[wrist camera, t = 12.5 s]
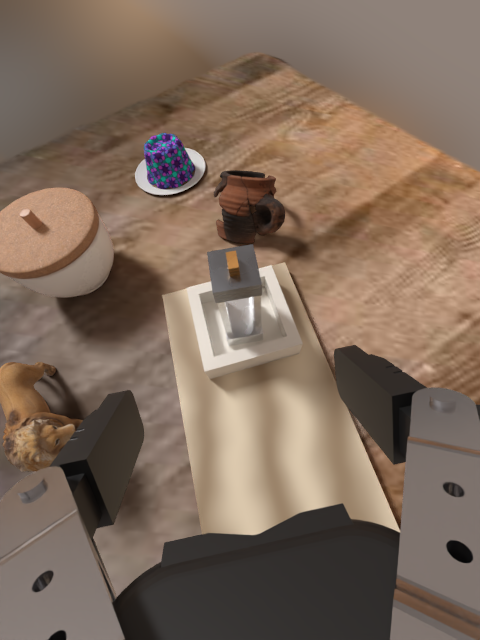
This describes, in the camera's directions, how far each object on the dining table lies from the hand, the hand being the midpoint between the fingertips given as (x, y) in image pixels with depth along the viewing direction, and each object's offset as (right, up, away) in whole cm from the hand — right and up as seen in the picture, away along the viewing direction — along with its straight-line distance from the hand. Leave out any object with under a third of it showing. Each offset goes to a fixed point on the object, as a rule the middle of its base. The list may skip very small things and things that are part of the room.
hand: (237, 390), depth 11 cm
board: (+2, -6, +19) cm, 20 cm away
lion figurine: (-19, -8, +20) cm, 29 cm away
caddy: (0, +2, +21) cm, 21 cm away
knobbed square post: (0, +2, +20) cm, 21 cm away
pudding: (-12, +28, +37) cm, 47 cm away
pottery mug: (+2, +17, +30) cm, 35 cm away
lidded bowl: (-22, +9, +28) cm, 37 cm away
